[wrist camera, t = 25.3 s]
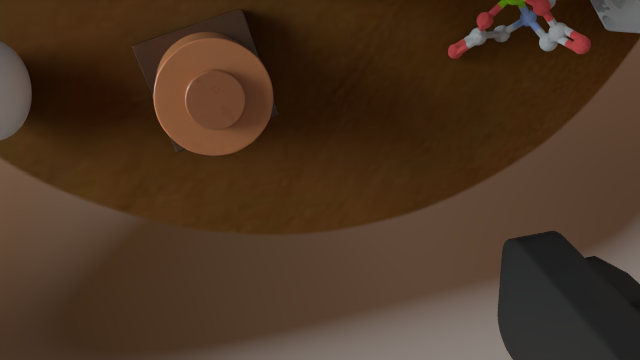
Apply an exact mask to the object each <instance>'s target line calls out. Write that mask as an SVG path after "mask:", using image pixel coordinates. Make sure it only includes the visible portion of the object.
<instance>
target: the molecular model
mask: <svg viewBox="0 0 640 360" xmlns="http://www.w3.org/2000/svg"><path fill="white" fill-rule="evenodd" d="M525 2H526V3H527V4H529V5H531V6H533V10H528V8H527V6H526V4H525ZM555 2H556V0H501V1H500V2H499V3H498V4H497V5H496V6H495V7H493V8H492V9H491V10H490V11H489V12H483V13H480V15H479V16H478V18H477V24H478V26H479V27H478V28H475V29H473V30H472V31H471V33H470V35H468V36H467V37H465V38H464V39H462V40H460V41H459V42H457V43H456V44H453V45H451V46H450V47H449V49H448V55H449V57H450V58H452V59H458V58H460V57H461V55H462V54H463V53H464V52H465V51H467V50H468V49H470V48H471V47H473V46H474V45H481V44H483V43H484V42H485V41H486V39H487V38H494V39H495V40H496V41H497V42H504V41H507V39H508V38H509V37H510V32H512V31H514V30H516V29H517V28H519V27H521V26H523V25H525V26H531V28H532V29H533V30H534V31H535V33H536V34H537V35H538V36H539V37H540V41H539V45H540V47H541V49H543V50H544V51H552V50H554V49H555V48H556V47H557V44H558V43H560V44H562V45H564V46H566V47H567V48H569V49H571V50H573V51H574V52H576V53H577V54H583V53H586V52H588V51H589V49H590V47H591V41H590V40H589V39H588V37H586V36H584V35H582V34H580V33H578V32H576V31H574V30H573V29H571V28H569V27H567V26H566V25H565V24H564V23H557V22H556V20H555V19H554V17H553V16H552V14H551V13H550V11H549V10H550V9H551V8H552V7H553V6H554V5H555ZM507 4H510V5H518V7H519V9H520V11H521V13H522V14H521V15H520V20H518V21H516V22H515V23H513V24H511V25H509V26H508V27H507V26H505V25H500V26H498V27H496V28H495V29H494V31H491V32H486V31H485V29H486V28H488V27H490V26H491V25H492V23H493V17H494V16H495V15H496V14H497V13H499V12H500V11H501V10H502V9H503V8H504V7H505V6H506V5H507ZM536 15H538V16H543V17H544V18H545V20H546V21H547V23H548V24H549V26H550V29H549V33H545V31H544V30H543V29H542V28H541V27H540V25H539V24H538V23H537V22H536V19H537V16H536ZM567 36H569V37H571V38H572V39H574V42H573V41H571V40H570V39H568V38H566V37H567Z"/></svg>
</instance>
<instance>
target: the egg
mask: <svg viewBox="0 0 640 360" xmlns="http://www.w3.org/2000/svg"><path fill="white" fill-rule="evenodd" d="M31 100H32V89H31V82H30V77H29V74H28V71H27V69H26V67H25V65H24V63H23V61H22V60H21V58H20V57H19V56H18V54H17V53H16V52H15V51H14V50H13V49H12V48H10V47H9V46H8V45H6V44H4V43H3V42H0V140H3V139H6V138H8V137H10V136H12V135H13V134H14V133H16V132H17V131H18V130H19V128H20V127H21V126H22V125H23V123H24V122H25V120H26V118H27V116H28V113H29V110H30V106H31Z"/></svg>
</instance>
